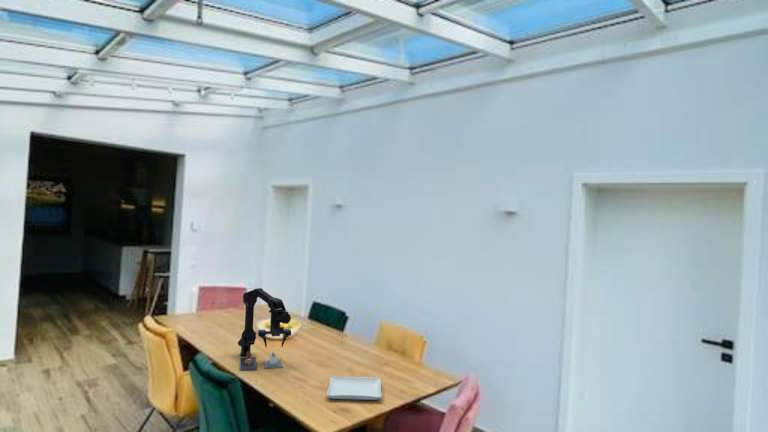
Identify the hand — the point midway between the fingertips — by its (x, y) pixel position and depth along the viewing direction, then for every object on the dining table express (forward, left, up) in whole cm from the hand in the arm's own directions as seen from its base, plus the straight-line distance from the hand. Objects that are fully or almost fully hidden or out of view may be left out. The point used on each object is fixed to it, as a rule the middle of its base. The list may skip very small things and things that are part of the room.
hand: (274, 347), depth 273 cm
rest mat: (0, 0, -10) cm, 10 cm away
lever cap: (0, 0, -10) cm, 10 cm away
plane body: (0, -14, -10) cm, 17 cm away
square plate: (+50, +37, -11) cm, 63 cm away
